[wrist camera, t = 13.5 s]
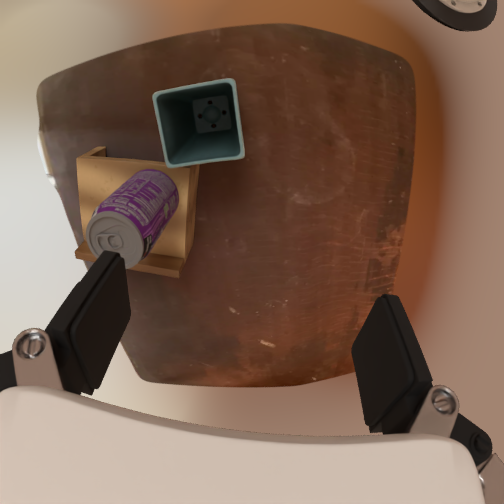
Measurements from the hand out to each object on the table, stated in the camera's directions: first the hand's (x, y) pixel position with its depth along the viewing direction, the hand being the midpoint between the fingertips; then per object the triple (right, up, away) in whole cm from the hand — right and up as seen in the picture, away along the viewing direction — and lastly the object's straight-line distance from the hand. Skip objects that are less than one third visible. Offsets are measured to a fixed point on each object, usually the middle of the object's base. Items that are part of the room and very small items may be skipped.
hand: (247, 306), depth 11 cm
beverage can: (-12, +9, +26) cm, 30 cm away
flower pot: (-5, +20, +26) cm, 33 cm away
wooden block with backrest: (-16, +10, +33) cm, 38 cm away
